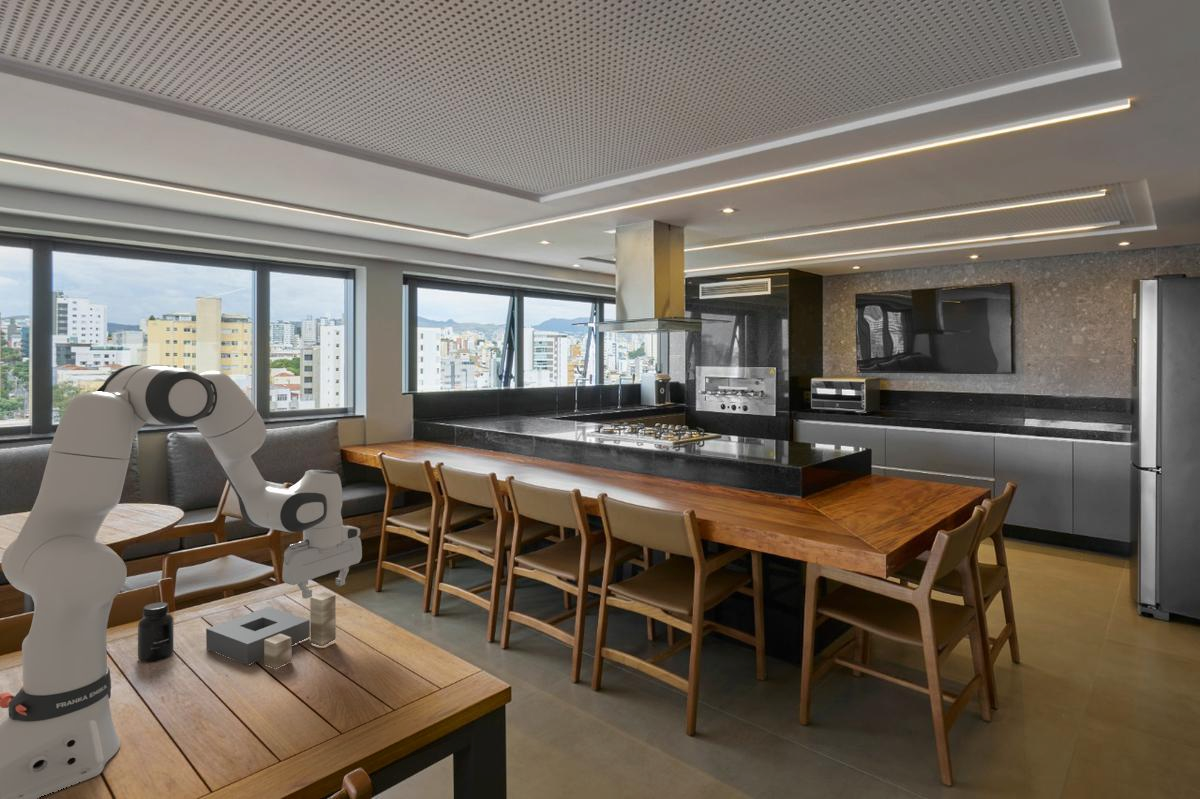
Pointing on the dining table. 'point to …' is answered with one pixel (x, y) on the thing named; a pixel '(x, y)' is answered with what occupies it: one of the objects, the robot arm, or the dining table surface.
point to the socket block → (254, 633)
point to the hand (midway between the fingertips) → (324, 591)
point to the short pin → (277, 650)
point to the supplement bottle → (155, 633)
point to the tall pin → (323, 618)
